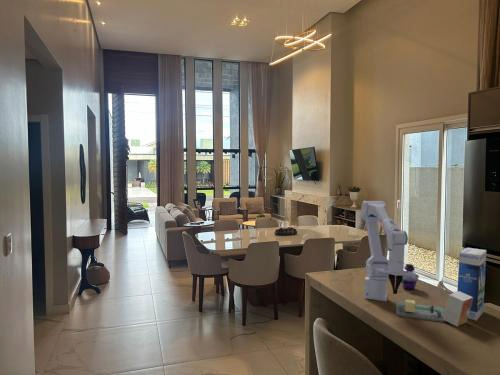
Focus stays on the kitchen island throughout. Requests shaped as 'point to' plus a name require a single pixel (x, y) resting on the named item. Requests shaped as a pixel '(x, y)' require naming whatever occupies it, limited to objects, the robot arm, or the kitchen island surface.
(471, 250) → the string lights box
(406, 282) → the potion bottle
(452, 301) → the small box
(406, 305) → the sleeve
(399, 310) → the teal rod on plate
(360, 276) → the kitchen island surface
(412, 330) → the kitchen island surface
